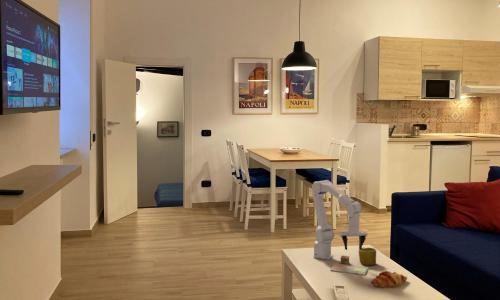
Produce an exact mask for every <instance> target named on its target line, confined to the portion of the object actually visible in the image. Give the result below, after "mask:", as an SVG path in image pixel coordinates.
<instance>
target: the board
mask: <svg viewBox="0 0 500 300" xmlns="http://www.w3.org/2000/svg"><path fill="white" fill-rule="evenodd" d="M368 270H369V266H368V267H367V266H359V265H351V264H348V265H346V264H340V263H337V262H334V263H333V265H332V267H331V268H330V272H337V273H345V274H351V275H359V276H366V275H367V272H368Z"/></svg>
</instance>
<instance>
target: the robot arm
mask: <svg viewBox="0 0 500 300" xmlns="http://www.w3.org/2000/svg"><path fill="white" fill-rule="evenodd" d="M311 191H312V198H313V199H312V200H313V205H314V211H315V213H316V214H315V216H316V219H317V220H316V222H317V227H316V228H315V241H314V244H313V258H314V259H319V260H320V259H322V260H328V261H329V260H331V259H332V258H333V256H334V255H333V254H332V242H333V240H334V238H335V232H334V230H333V227H332V226H331V225H329V223H328V218H327V213H326V208H325V201H324V196H325V195H326V194H327V193H329V194H331V195H332V196H333V197H335V198H336V199H337V200H338V203H339V204H340V205H342V206H343V207H344V208H345V209H346V212H347V216H348V222H347V223H348V225H347V226H348V227H347V231H341V232H339V237H340V238H341V239H342V243H343V246H344V251H345V250H346V251H347V250H348V237H358V240H359V241H358V242H359V243H358V250H359V249H360V250H361V249H362V248H363V245H364V244H365V241H366V239H367V238H366V237H368V232H367V231H366V232H365V231H360V215H361V214H360V213H361V212H362V209H363V206H362V203H360V201H355V200H354V199H352V198H351V197H350V196H349V195H348V194H347V193H341V192H340V190H338V188H336V187H335V186H334V185H333V182H331V181H330V180H329V179H325V180H320V181H314V182H313V183H312V184H311Z"/></svg>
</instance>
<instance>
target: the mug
mask: <svg viewBox="0 0 500 300" xmlns="http://www.w3.org/2000/svg"><path fill="white" fill-rule="evenodd" d="M358 258H359V263H360V264H361V265H362V266H373V265H376V263H377V249H376V248H374V247H364V246H362V249H361V250H360V249H359V248H358Z"/></svg>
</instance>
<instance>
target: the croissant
mask: <svg viewBox="0 0 500 300" xmlns="http://www.w3.org/2000/svg"><path fill="white" fill-rule="evenodd" d="M407 280H408V276H406V275H404V274H402V273H401V274H400V273H398V272H396V271H394V272H391V271H389V270H384V271H381V272H379V274H378V275H377V276H376V277H375V278H373V279H372V280H371V281H370V284H371V285H373V286H375V287H378V288H393V287H394V288H395V287H398V286H400V285H402V284H404V283H405V282H406V281H407Z"/></svg>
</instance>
